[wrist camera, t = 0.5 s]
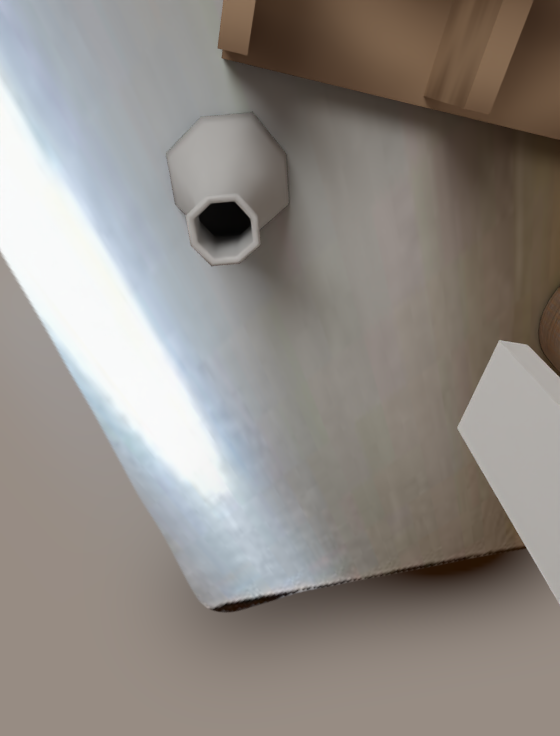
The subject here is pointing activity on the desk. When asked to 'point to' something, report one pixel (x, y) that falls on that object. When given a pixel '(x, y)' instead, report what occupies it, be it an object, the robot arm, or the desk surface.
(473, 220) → the desk surface
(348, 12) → the rack
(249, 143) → the flask
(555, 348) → the vase
